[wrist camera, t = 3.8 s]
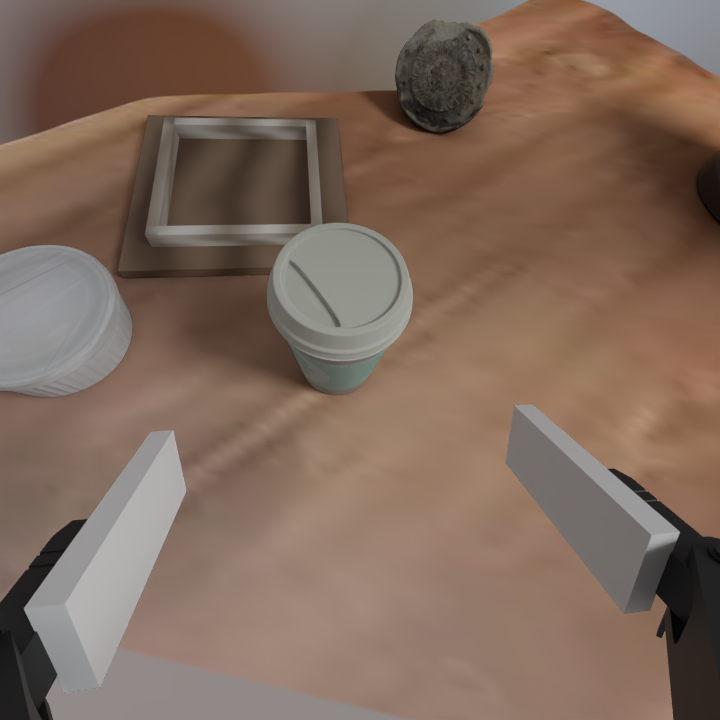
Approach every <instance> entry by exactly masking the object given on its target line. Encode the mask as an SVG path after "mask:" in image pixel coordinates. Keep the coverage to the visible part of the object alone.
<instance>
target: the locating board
mask: <svg viewBox="0 0 720 720" xmlns="http://www.w3.org/2000/svg"><path fill="white" fill-rule="evenodd" d="M327 223H348V218H347V208H346V198H345V188H344V179H343V169H342V159H341V149H340V139H339V129H338V120H337V119H327V118H270V117H213V116H157V115H148V118H147V123H146V128H145V133H144V138H143V143H142V148H141V153H140V159H139V164H138V169H137V174H136V179H135V184H134V189H133V194H132V200H131V205H130V210H129V215H128V220H127V225H126V230H125V235H124V240H123V246H122V251H121V256H120V261H119V266H118V273H119V274H120V275H121V276H122V277H123V278H155V277H192V276H230V275H267V274H270V272H271V270H272V268H273V266H274V264H275V261H276V258H277V256H278V254H279V252H280V251H281V249H282V248H283V247H284V246H285V244H286V243H287V242H288V241H289V240H291V239H292V238H293V237H294V236H296V235H297V234H299V233H300V232H302V231H304V230H306V229H308V228H311V227H314V226H317V225H321V224H327Z"/></svg>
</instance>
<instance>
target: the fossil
mask: <svg viewBox="0 0 720 720" xmlns="http://www.w3.org/2000/svg"><path fill="white" fill-rule="evenodd" d="M493 73H494V66H493V64H492V47H491V43H490V40H489V38H488V36H487V34H486V33H485V31H484V30H483V29H482V28H480V27H477V26H473V25H472V24H469V23H457V22H451V23H446V22H443V21H437V20H432V21H429V22H428V23H426V24H424V25H423V26H422V27H421V28H420V29H419V30H418V31H417V32H416V33H415V34H414V35H413V37H412V38H410V39H409V41H408V42H407V43H406V44H405V45H404V47H403V49H402V50H401V52H400V54H399V57H398V60H397V66H396V74H395V79H396V86H397V92H398V97H399V101H400V105H401V108H402V110H403V112H404V114H405V116H406V117H407V118H408V119H409V120H410V121H411V122H412V123H414V124H415V125H416V126H418V127H420V128H421V129H423V130H426V131H429V132H433V133H444V132H450V131H453V130H456V129H458V128H460V127H462V126H464V125H465V124H466V123H468V122H469V121H470V120H471V119H472V118H473V117H474V116H475V115H476V114H477V113H478V112H479V110H480V109H481V108H482V106H483V99H484V96H485V94H486V92H487V90H488V87H489V86H490V84H491V81H492V78H493Z"/></svg>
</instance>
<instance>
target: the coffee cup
mask: <svg viewBox="0 0 720 720" xmlns="http://www.w3.org/2000/svg"><path fill="white" fill-rule="evenodd" d="M412 303H413V289H412V283H411V279H410V276H409V273H408V269H407V266H406V263H405V261H404V259H403V257H402V255H401V254H400V252H399V251H398V249H397V248H396V247H395V246H394V245H393V244H392V243H391V242H390V241H389V240H387V239H386V238H385V237H384V236H382V235H380V234H379V233H377V232H375V231H373V230H371V229H368V228H366V227H363V226H359V225H355V224H350V223H327V224H321V225H317V226H314V227H311V228H308V229H306V230H304V231H302V232H300V233H299V234H297V235H296V236H294V237H293V238H292V239H291V240H289V241H288V242H287V243H286V244H285V246H284V247H283V248H282V249H281V251H280V252H279V254H278V256H277V258H276V261H275V264H274V266H273V268H272V270H271V272H270V275H269V279H268V285H267V307H268V311H269V315H270V317H271V320H272V322H273V324H274V325H275V327H276V329H277V330H278V331H279V333H280V334H281V335H282V336H283V337H284V338H285V339H286V340H287V341H288V343H289V345H290V347H291V349H292V351H293V353H294V356H295V358H296V360H297V362H298V364H299V366H300V368H301V370H302V372H303V374H304V376H305V378H306V379H307V381H308V382H309V383H310V384H311V385H312V386H313V387H314V388H316V389H317V390H319V391H321V392H323V393H326V394H331V395H343V394H347V393H350V392H353V391H355V390H356V389H358V388H359V387H360V386H362V385H363V384H364V382H365V381H366V380H367V378H368V377H369V375H370V374H371V372H372V371H373V369H374V367H375V366H376V364H377V363H378V361H379V360H380V358H381V356H382V355H383V353H384V352H385V350H386V348H387V347H388V346H390V345H391V344H392V343H393V342H394V341H395V340H396V339H397V338H398V337H399V336H400V335H401V334H402V332H403V331H404V329H405V327H406V326H407V324H408V321H409V319H410V316H411V311H412Z"/></svg>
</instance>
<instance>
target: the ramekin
mask: <svg viewBox="0 0 720 720" xmlns="http://www.w3.org/2000/svg"><path fill="white" fill-rule="evenodd" d="M132 329H133V328H132V320H131V316H130V313H129V311H128V309H127V307H126V305H125V303H124V301H123V300H122V298H121V296H120V294H119V292H118V288H117V285H116V283H115V281H114V279H113V277H112V276H111V274H110V273H109V271H108V270H107V269H106V268H105V267H104V266H103V265H102V264H101V263H100V262H99V261H98V260H97V259H96V258H95V257H93V256H92V255H90V254H88V253H86V252H84V251H81V250H78V249H75V248H72V247H67V246H60V245H38V246H30V247H24V248H20V249H16V250H13V251H10V252H6V253H4V254H1V255H0V390H1V391H13V392H17V393H22V394H26V395H31V396H37V397H58V396H65V395H69V394H73V393H76V392H78V391H81V390H84V389H86V388H88V387H90V386H92V385H94V384H96V383H97V382H99V381H101V380H102V379H103V378H105V377H106V376H107V375H108V374H109V373H110V372H112V371H113V370H114V369H115V368H116V366H117V365H118V364H119V363H120V361H121V360H122V359H123V357H124V356H125V353H126V352H127V350H128V347H129V345H130V342H131V337H132Z"/></svg>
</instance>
